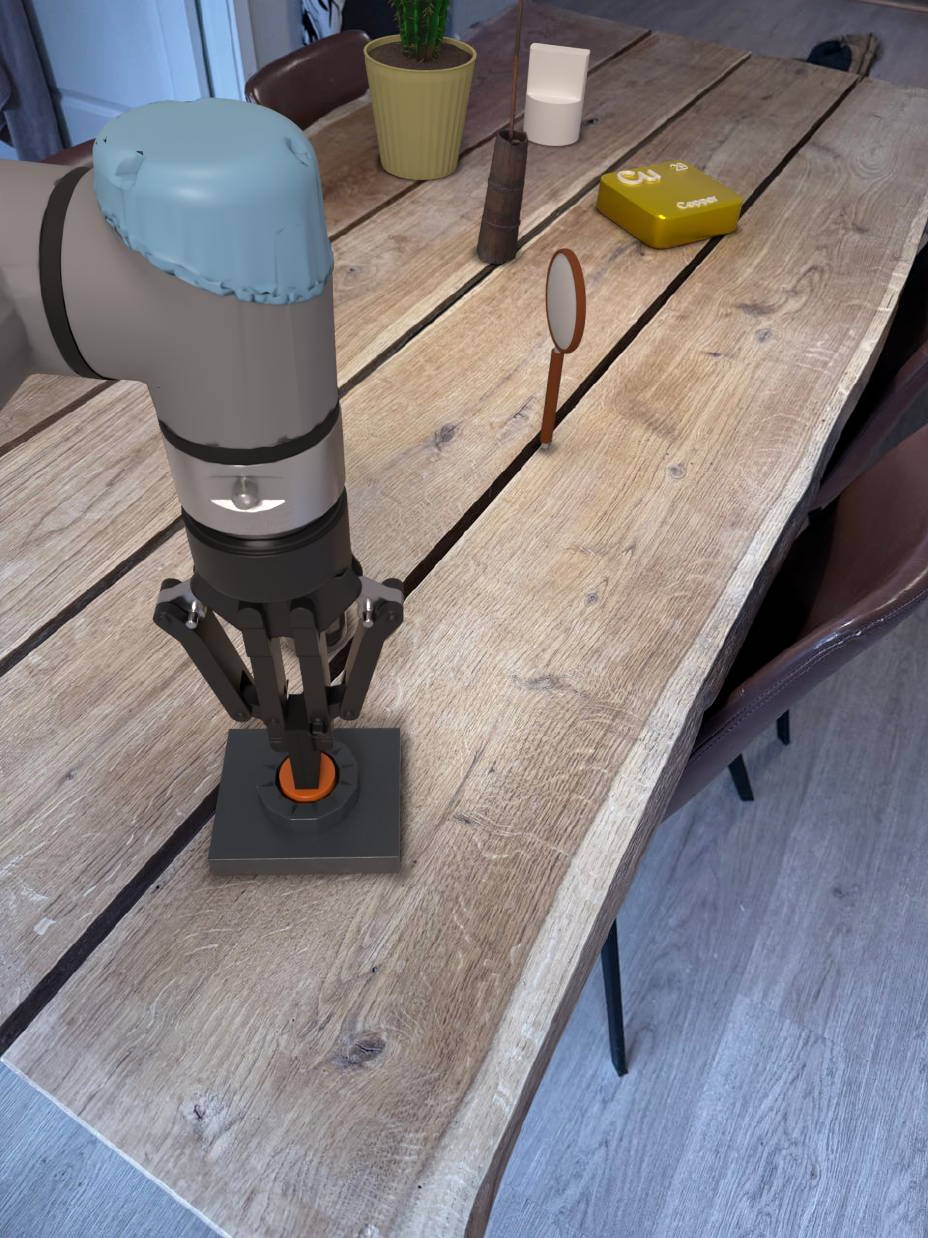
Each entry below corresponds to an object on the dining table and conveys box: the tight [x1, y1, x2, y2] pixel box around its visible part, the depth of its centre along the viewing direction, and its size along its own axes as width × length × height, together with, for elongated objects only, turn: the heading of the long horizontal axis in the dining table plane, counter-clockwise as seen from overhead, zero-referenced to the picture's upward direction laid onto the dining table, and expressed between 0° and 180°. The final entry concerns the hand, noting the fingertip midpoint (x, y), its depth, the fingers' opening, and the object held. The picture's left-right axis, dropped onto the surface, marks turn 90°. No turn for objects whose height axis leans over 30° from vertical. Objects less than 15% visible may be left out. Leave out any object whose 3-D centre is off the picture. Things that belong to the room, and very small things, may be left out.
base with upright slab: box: [522, 42, 591, 147], centre depth 140 cm, size 9×9×12 cm
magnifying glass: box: [539, 247, 587, 450], centre depth 82 cm, size 9×2×20 cm, turn 13°
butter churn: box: [476, 0, 530, 265], centre depth 105 cm, size 9×10×28 cm
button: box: [279, 753, 337, 803], centre depth 59 cm, size 4×4×2 cm
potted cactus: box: [363, 0, 477, 181], centre depth 123 cm, size 15×15×30 cm
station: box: [207, 727, 402, 877], centre depth 61 cm, size 12×10×4 cm
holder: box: [281, 610, 348, 653], centre depth 70 cm, size 5×5×6 cm
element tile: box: [596, 159, 744, 250], centre depth 124 cm, size 15×15×5 cm
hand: (308, 771), depth 59 cm, fingers closed
